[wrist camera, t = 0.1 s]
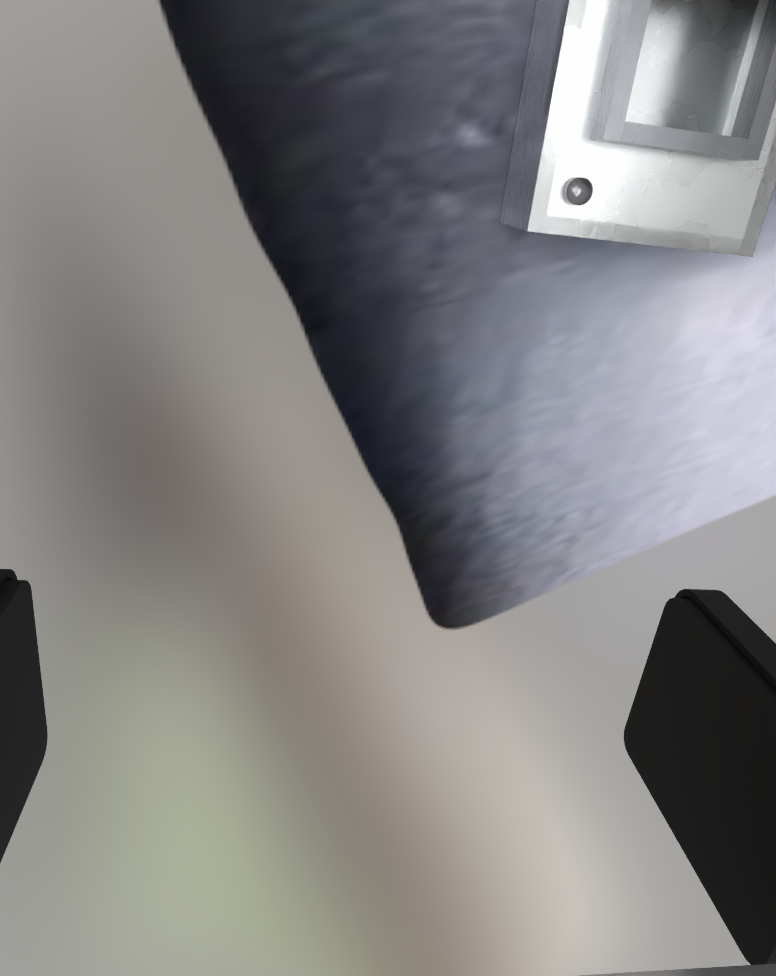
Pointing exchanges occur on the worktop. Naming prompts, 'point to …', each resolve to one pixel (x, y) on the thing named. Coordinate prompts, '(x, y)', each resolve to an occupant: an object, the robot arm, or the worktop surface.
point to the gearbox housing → (647, 123)
